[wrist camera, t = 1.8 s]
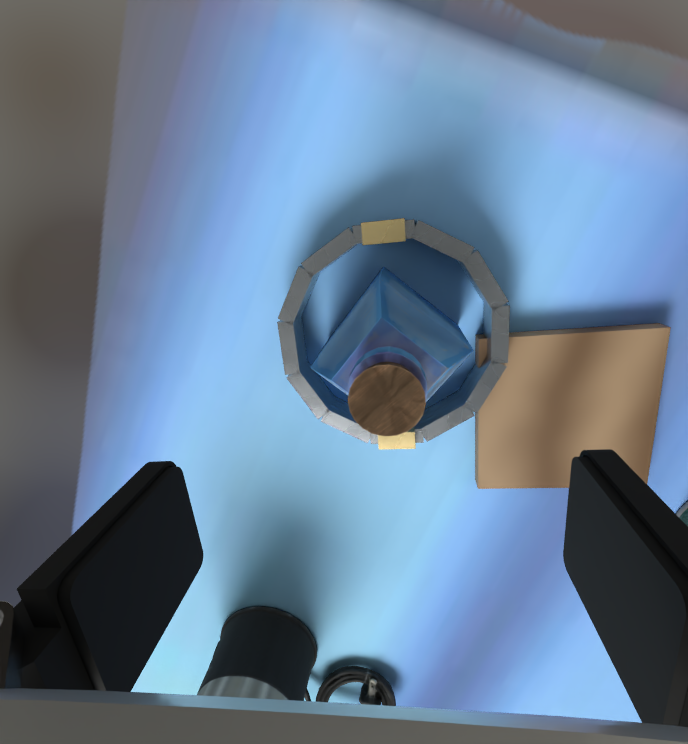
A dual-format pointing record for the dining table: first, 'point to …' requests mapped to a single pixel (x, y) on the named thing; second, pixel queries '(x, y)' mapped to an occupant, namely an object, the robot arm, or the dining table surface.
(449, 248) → the collar
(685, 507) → the canned tomato
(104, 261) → the dining table surface
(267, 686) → the milk frother
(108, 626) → the robot arm
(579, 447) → the pad
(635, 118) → the dining table surface
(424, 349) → the perfume bottle
